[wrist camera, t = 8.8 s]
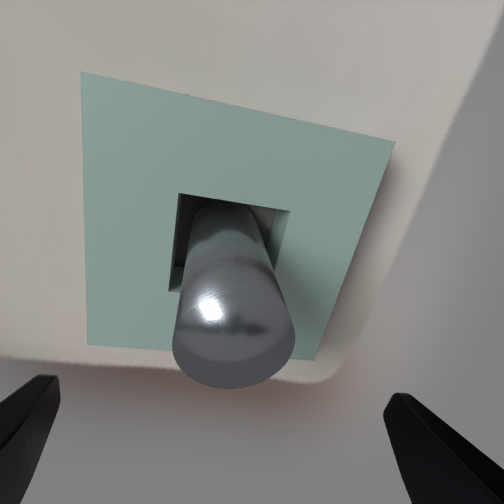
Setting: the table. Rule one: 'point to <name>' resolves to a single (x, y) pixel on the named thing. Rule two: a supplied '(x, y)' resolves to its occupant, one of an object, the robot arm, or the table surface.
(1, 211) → the table surface
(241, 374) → the peg
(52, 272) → the table surface
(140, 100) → the socket block
